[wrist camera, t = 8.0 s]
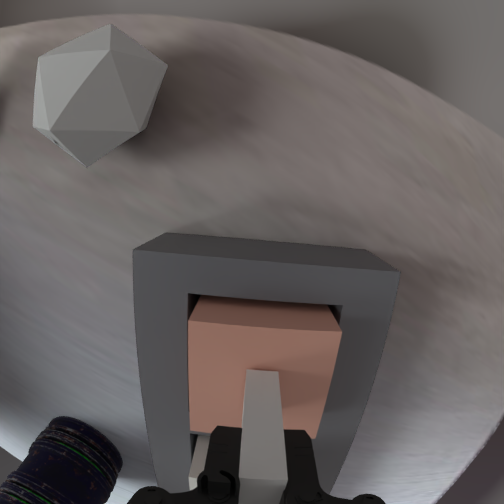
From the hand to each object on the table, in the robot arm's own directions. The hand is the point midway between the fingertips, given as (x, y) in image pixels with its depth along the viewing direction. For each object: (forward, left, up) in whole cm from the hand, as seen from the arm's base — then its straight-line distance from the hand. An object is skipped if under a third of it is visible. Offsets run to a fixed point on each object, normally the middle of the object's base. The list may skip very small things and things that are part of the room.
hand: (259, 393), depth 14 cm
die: (-11, +15, -9) cm, 21 cm away
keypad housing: (0, -10, -8) cm, 13 cm away
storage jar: (-18, -19, -9) cm, 28 cm away
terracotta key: (0, 0, -5) cm, 5 cm away
